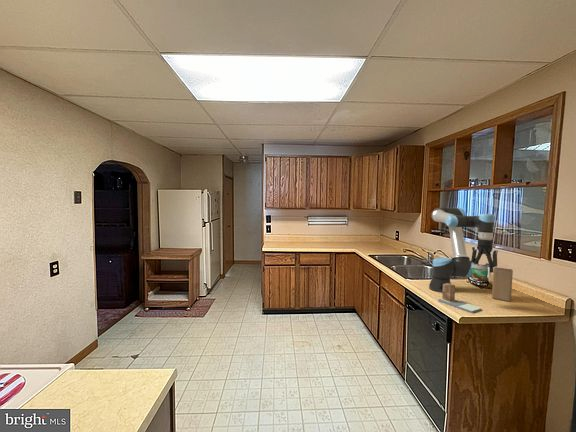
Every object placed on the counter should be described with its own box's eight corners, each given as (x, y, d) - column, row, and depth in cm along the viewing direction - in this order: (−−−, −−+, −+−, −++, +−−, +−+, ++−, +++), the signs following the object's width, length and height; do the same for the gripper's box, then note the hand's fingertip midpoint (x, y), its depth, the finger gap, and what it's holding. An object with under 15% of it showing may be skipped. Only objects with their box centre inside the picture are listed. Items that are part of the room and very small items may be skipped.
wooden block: (492, 295, 195) (494, 266, 193) (511, 298, 188) (512, 269, 187) (491, 298, 187) (493, 269, 186) (510, 302, 180) (512, 272, 179)
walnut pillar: (442, 299, 181) (442, 284, 180) (447, 298, 183) (447, 283, 182) (449, 301, 176) (450, 286, 176) (454, 300, 179) (455, 285, 178)
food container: (480, 282, 168) (481, 266, 167) (470, 279, 174) (471, 264, 173) (495, 281, 172) (496, 265, 171) (485, 278, 177) (486, 263, 177)
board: (438, 301, 181) (438, 299, 181) (447, 299, 185) (447, 297, 185) (471, 313, 162) (471, 310, 162) (481, 310, 166) (481, 308, 166)
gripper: (465, 237, 178) (463, 272, 180) (499, 241, 161) (497, 280, 162) (472, 236, 181) (470, 271, 183) (506, 241, 164) (504, 279, 166)
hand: (482, 275), depth 173 cm, fingers closed on food container, 6 cm apart
